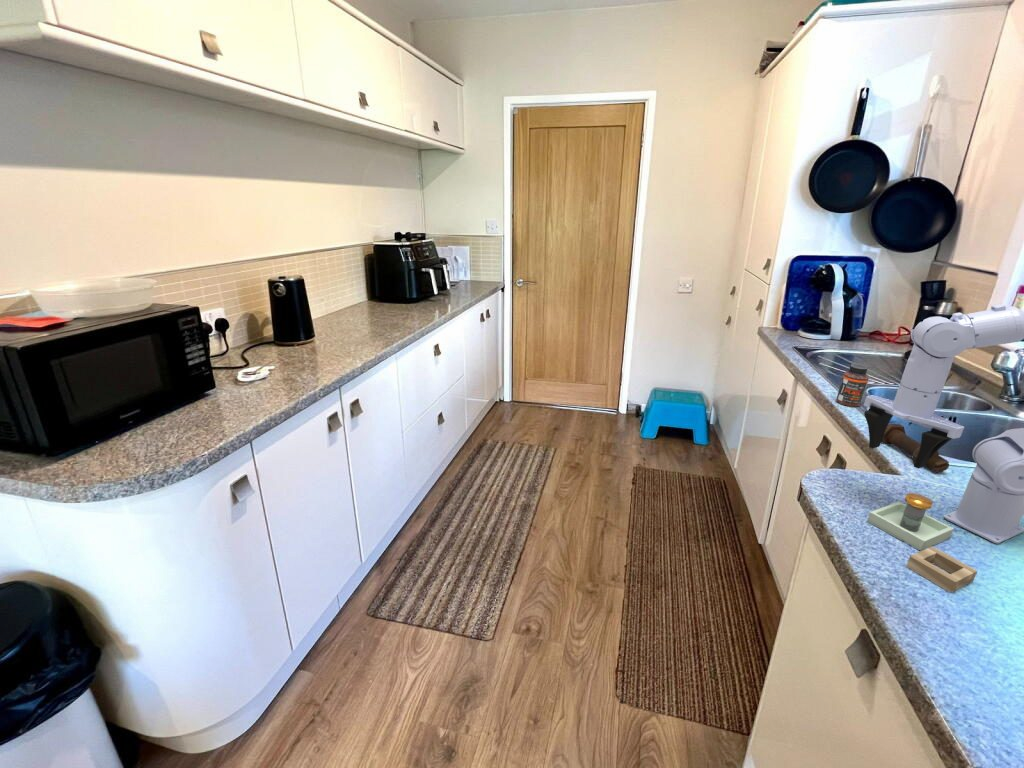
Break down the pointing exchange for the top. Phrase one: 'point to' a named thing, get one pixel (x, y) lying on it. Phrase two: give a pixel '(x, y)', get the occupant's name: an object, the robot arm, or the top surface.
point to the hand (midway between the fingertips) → (895, 456)
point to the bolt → (911, 446)
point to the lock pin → (914, 511)
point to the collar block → (949, 582)
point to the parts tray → (922, 539)
